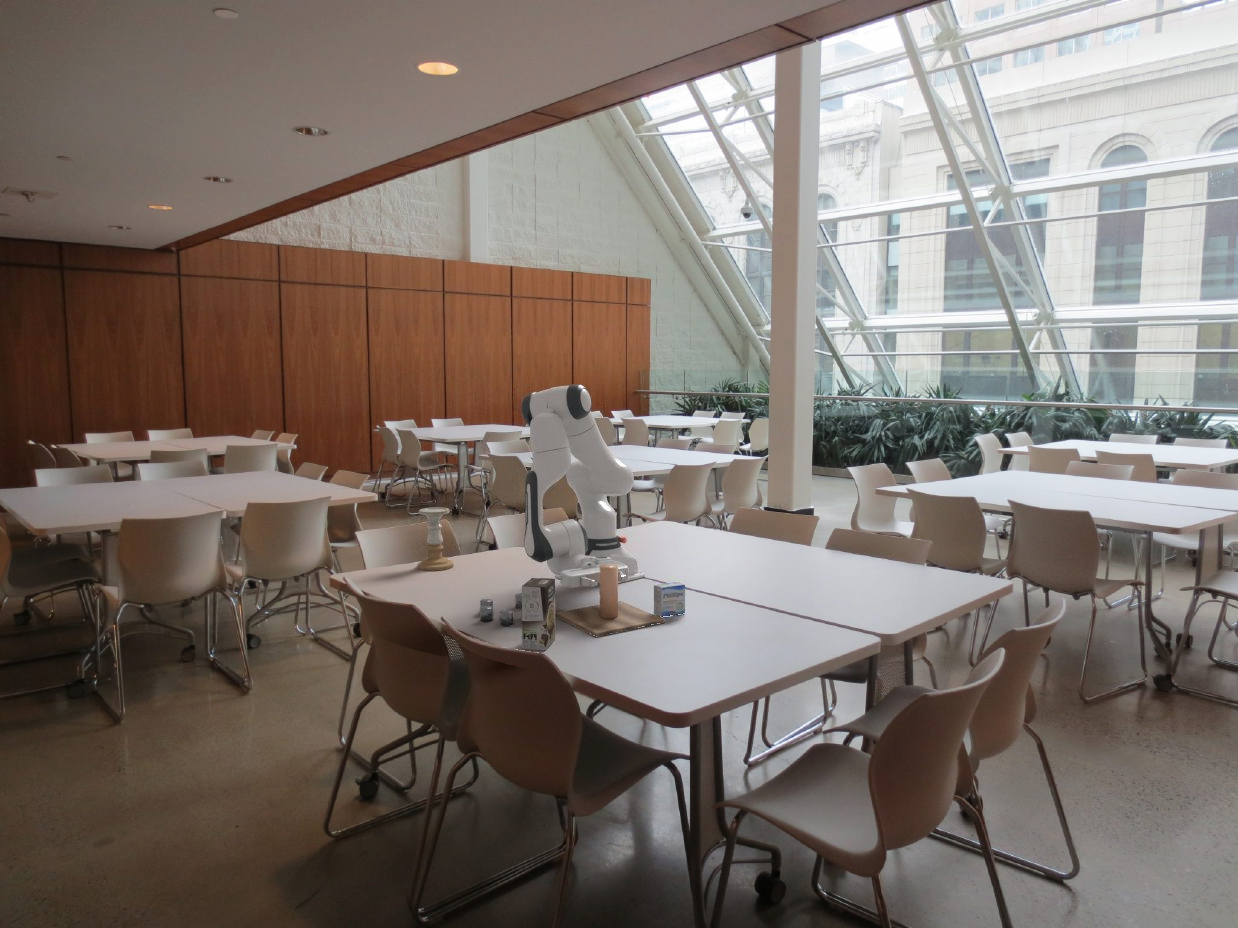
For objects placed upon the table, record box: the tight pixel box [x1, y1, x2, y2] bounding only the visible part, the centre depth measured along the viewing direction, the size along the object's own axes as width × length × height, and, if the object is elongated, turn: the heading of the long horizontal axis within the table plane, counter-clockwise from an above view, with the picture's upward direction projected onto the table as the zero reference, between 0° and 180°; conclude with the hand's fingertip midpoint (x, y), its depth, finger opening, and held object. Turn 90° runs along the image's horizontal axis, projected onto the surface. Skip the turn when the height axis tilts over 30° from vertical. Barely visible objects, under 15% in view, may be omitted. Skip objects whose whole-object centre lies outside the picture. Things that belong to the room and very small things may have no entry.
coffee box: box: [521, 577, 556, 651], centre depth 213 cm, size 9×6×16 cm
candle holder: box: [416, 506, 454, 572], centre depth 295 cm, size 12×12×20 cm
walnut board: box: [555, 600, 666, 637], centre depth 235 cm, size 22×22×1 cm
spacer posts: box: [479, 592, 522, 627], centre depth 238 cm, size 21×19×4 cm
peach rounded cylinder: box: [599, 564, 619, 619], centre depth 234 cm, size 5×5×14 cm
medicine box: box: [653, 581, 686, 618], centre depth 239 cm, size 8×4×9 cm, turn 117°
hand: (609, 581), depth 233 cm, fingers open, 8 cm apart
